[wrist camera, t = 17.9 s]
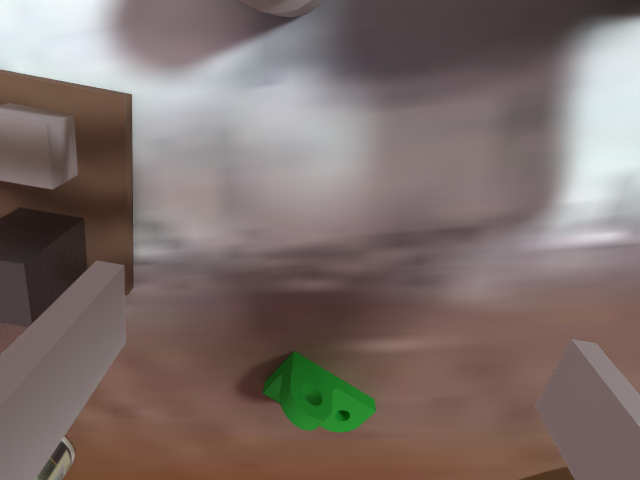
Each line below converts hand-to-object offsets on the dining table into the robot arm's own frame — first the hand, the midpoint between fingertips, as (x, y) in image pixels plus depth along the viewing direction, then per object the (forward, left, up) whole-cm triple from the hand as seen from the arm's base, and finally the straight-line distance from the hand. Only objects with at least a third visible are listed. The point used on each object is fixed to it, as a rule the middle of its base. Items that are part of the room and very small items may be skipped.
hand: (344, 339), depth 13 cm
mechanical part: (+30, +4, -29) cm, 42 cm away
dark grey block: (+15, -25, -27) cm, 40 cm away
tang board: (+10, -25, -29) cm, 39 cm away
